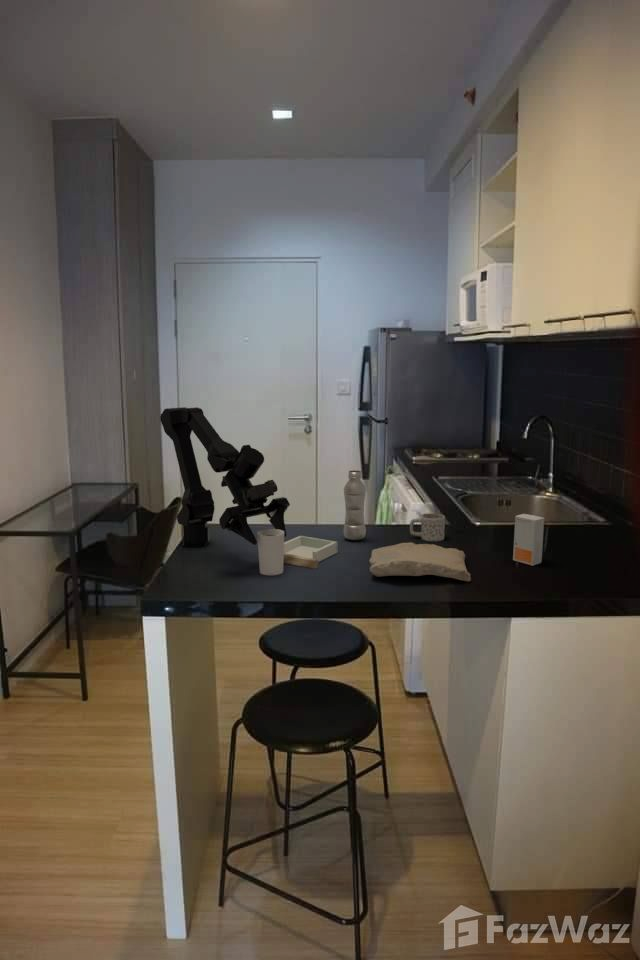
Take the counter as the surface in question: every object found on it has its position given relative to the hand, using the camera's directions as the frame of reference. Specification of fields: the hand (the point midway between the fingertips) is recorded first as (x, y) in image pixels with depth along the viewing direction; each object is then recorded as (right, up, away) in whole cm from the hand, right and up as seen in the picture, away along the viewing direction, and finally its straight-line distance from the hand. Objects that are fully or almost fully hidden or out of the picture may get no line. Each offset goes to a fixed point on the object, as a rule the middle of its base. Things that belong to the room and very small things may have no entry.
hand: (270, 540), depth 163 cm
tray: (+9, -5, +15) cm, 18 cm away
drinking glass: (0, -8, +1) cm, 8 cm away
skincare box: (+65, -6, +8) cm, 66 cm away
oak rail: (+4, -7, +8) cm, 11 cm away
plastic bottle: (+22, -3, +29) cm, 37 cm away
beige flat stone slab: (+36, -8, 0) cm, 37 cm away
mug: (+43, -2, +30) cm, 53 cm away
